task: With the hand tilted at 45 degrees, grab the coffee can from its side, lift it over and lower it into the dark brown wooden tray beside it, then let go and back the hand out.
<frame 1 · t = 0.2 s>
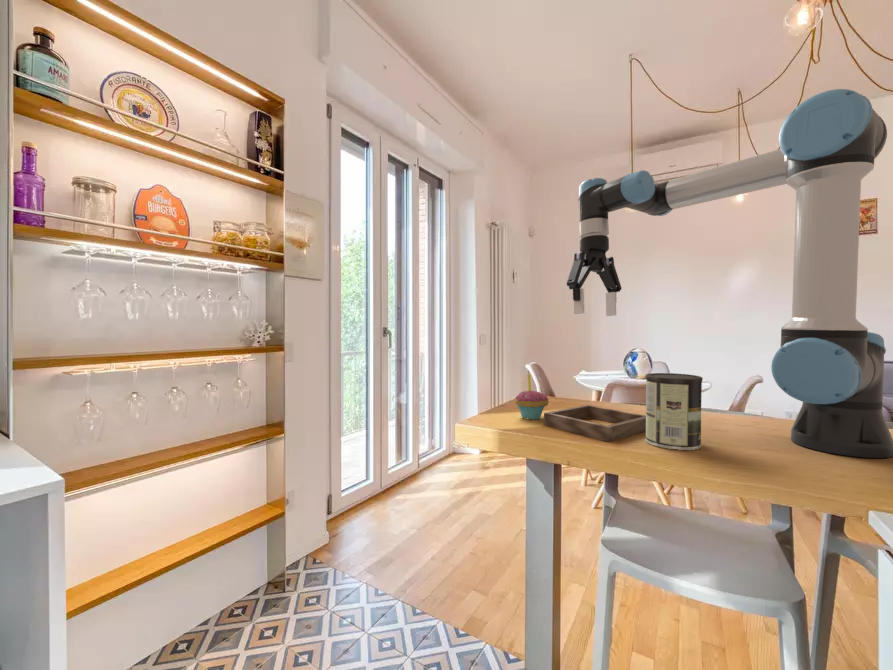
hand: (595, 314, 114), 27 cm above the table, tool pointing down, fingers open, 13 cm apart
dark brown wooden tray: (596, 427, 99), on the table
cupcake: (531, 418, 109), on the table
coffee can: (672, 444, 86), on the table
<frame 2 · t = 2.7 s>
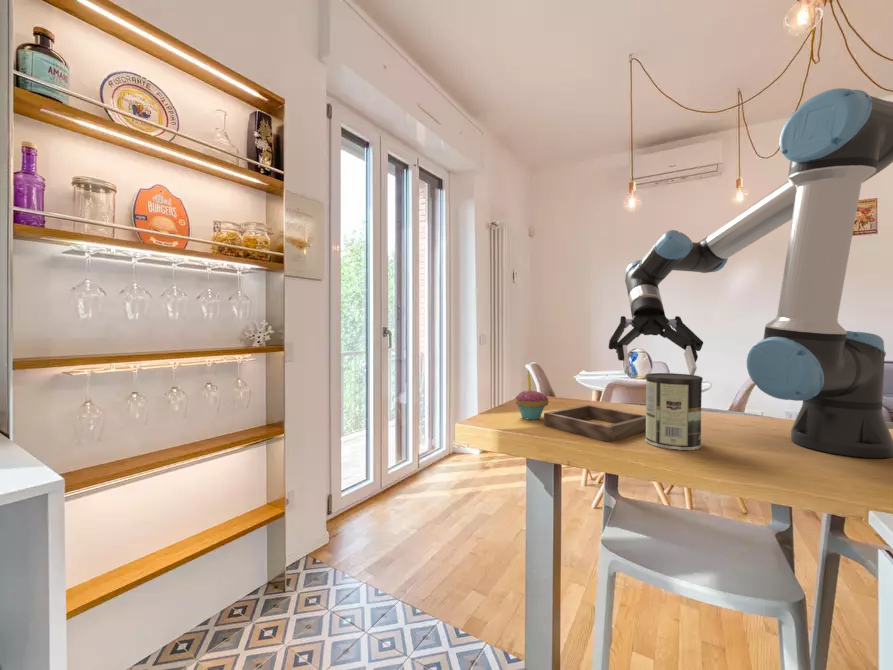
hand: (659, 371, 94), 14 cm above the table, tool tilted 45°, fingers open, 13 cm apart
nothing on the table moved.
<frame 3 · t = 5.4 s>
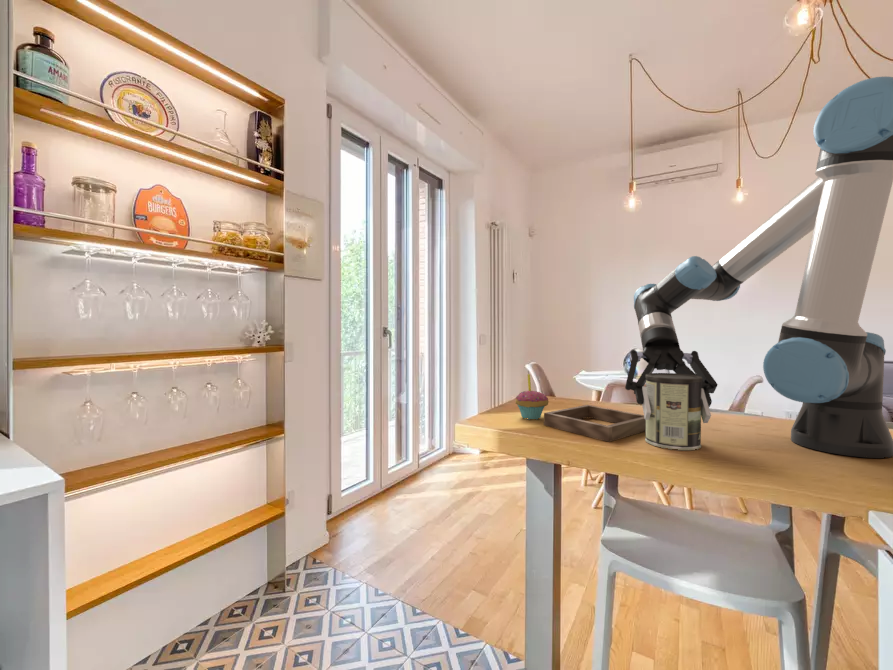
hand: (677, 417, 83), 6 cm above the table, tool tilted 45°, fingers closed on coffee can, 10 cm apart
coffee can: (671, 444, 86), on the table, touching gripper
everything else where it was.
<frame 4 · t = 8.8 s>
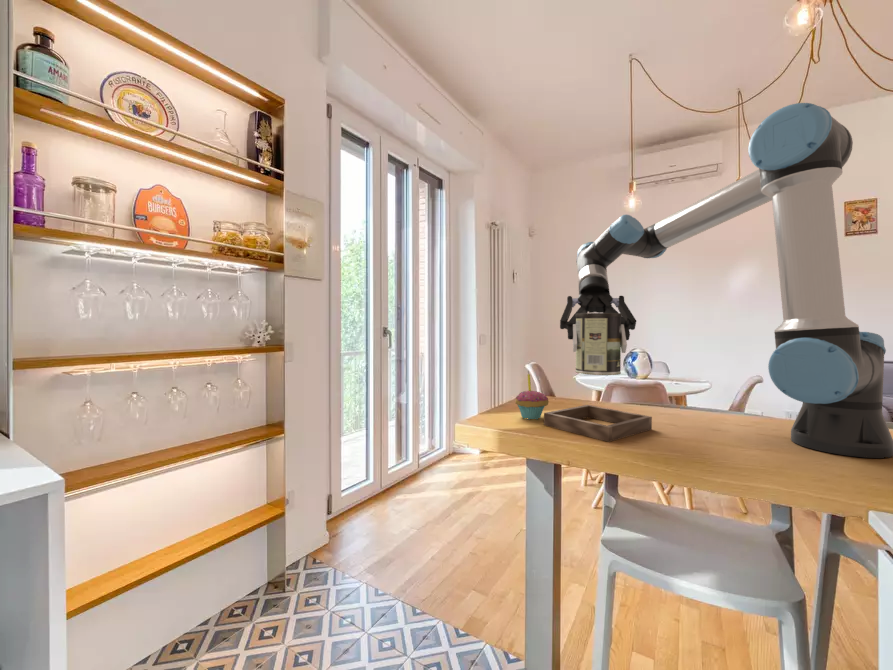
hand: (599, 348, 96), 19 cm above the table, tool tilted 45°, fingers closed on coffee can, 10 cm apart
coffee can: (597, 373, 99), point 13 cm above the table, touching gripper
everything else where it was.
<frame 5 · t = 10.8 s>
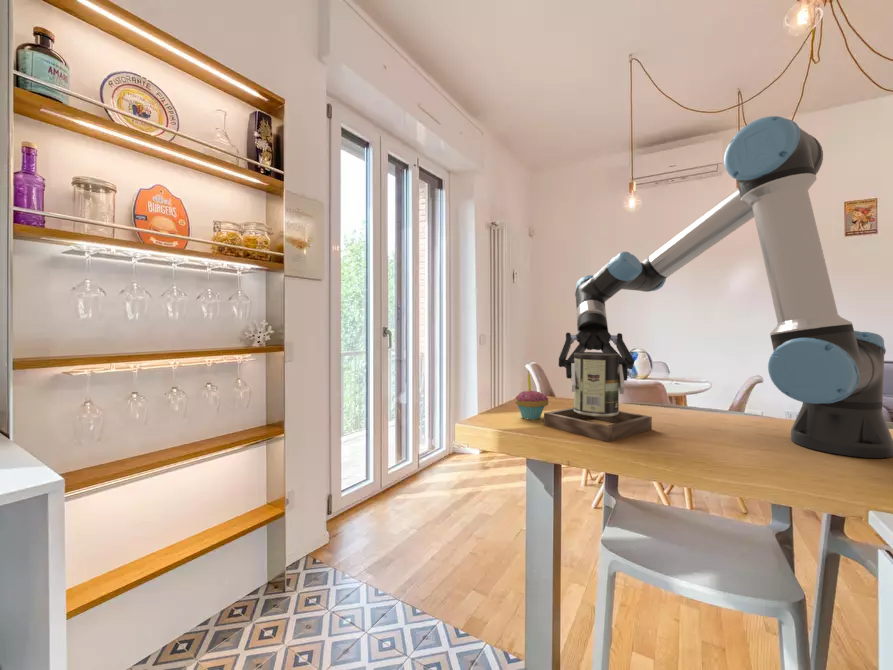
hand: (597, 389, 96), 10 cm above the table, tool tilted 45°, fingers closed on coffee can, 10 cm apart
coffee can: (595, 413, 100), point 3 cm above the table, touching gripper
everything else where it was.
when the fingers open (7 cm above the table, at t = 12.4 s): coffee can drops 1 cm, resting in dark brown wooden tray.
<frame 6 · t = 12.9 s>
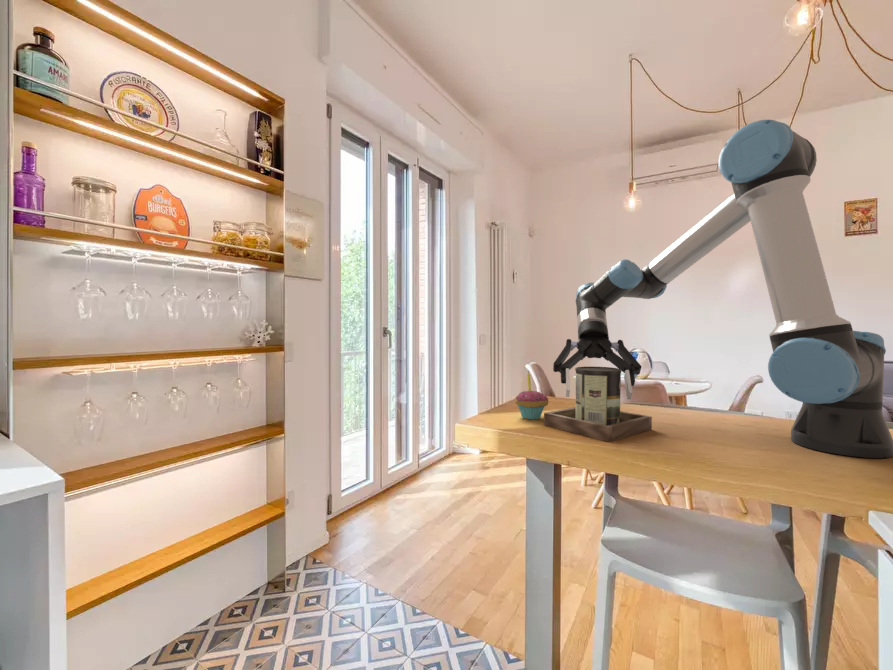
hand: (598, 394, 97), 8 cm above the table, tool tilted 45°, fingers open, 13 cm apart
coffee can: (597, 428, 99), resting in dark brown wooden tray
everything else where it was.
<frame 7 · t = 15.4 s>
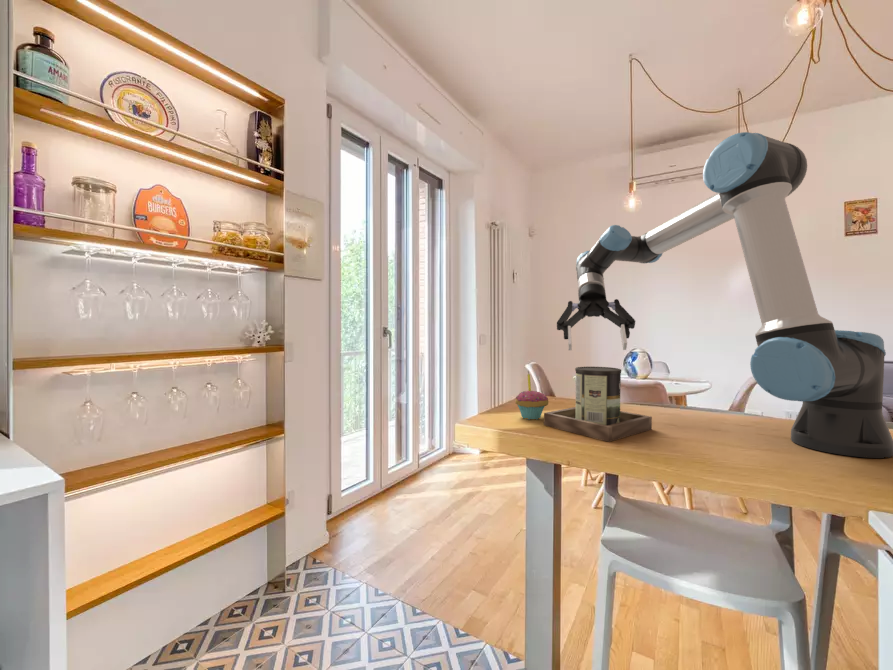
hand: (597, 346, 109), 19 cm above the table, tool tilted 45°, fingers open, 13 cm apart
nothing on the table moved.
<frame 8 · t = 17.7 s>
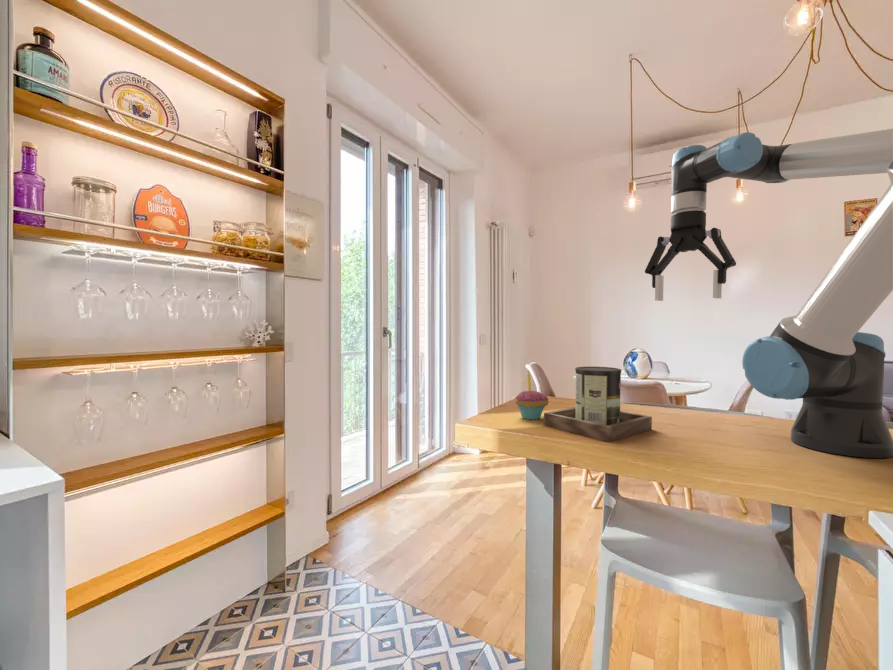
hand: (686, 299, 103), 31 cm above the table, tool pointing down, fingers open, 13 cm apart
nothing on the table moved.
at the end: coffee can inside the target area on the dark brown wooden tray (0.1 cm from its centre), point 0.0 cm above the dark brown wooden tray's base; coffee can tilted 0°; the gripper is holding nothing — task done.
